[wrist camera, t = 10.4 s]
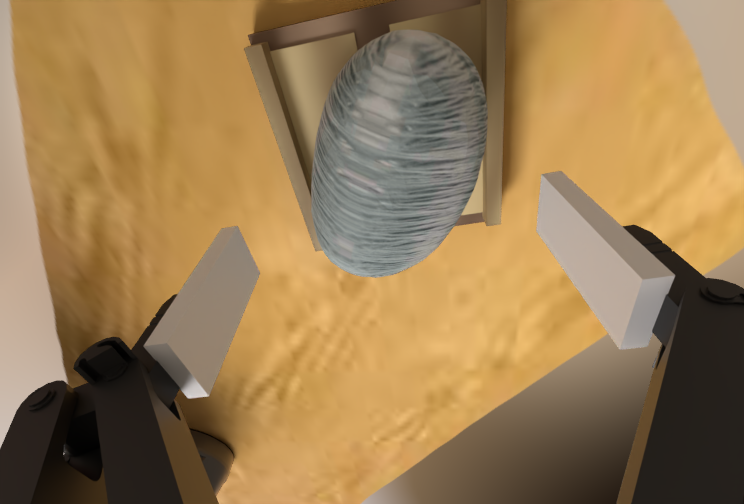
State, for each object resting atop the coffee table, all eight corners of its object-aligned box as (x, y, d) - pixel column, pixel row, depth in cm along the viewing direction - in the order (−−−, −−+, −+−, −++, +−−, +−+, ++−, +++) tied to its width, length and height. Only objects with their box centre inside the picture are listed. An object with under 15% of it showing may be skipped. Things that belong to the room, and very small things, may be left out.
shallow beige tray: (321, 239, 30) (317, 256, 28) (252, 33, 21) (240, 37, 19) (492, 213, 28) (500, 229, 26) (494, -23, 19) (507, -25, 17)
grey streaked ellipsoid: (436, 280, 26) (392, 337, 17) (329, 224, 29) (242, 249, 20) (530, 90, 21) (538, 32, 12) (393, 42, 24) (316, -35, 15)
